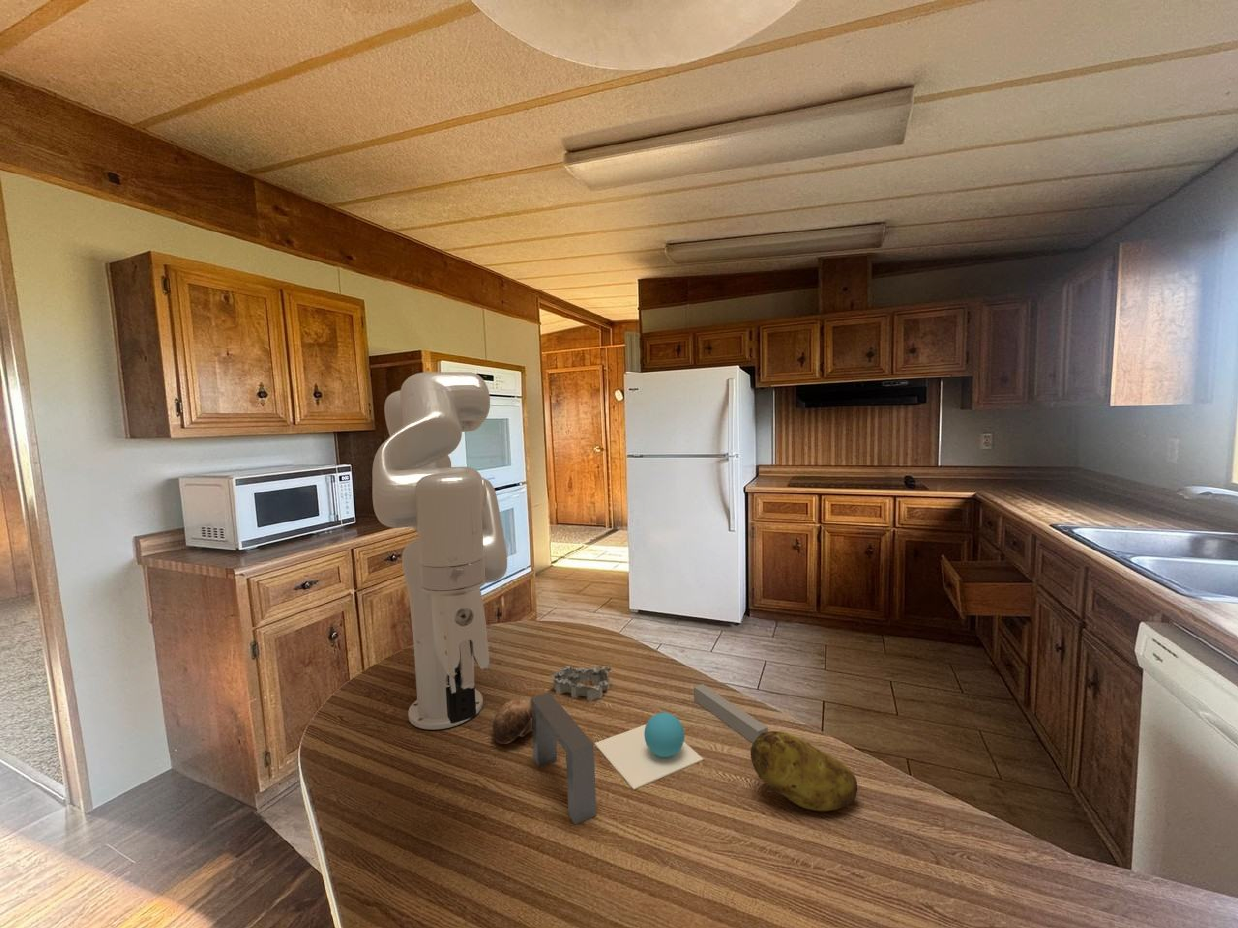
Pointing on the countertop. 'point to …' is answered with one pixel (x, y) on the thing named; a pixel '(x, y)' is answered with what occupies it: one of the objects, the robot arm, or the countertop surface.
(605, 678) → the grey scalloped ring
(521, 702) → the brown rounded lump
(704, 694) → the wall
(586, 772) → the bridge
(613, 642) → the countertop surface
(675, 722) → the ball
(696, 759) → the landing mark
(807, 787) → the potato
